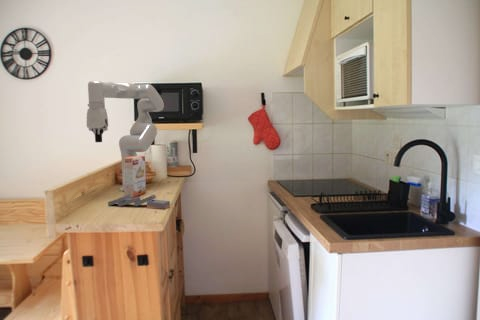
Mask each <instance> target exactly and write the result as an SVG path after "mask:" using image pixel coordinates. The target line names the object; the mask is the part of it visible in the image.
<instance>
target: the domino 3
mask: <svg viewBox="0 0 480 320" xmlns="http://www.w3.org/2000/svg"><path fill="white" fill-rule="evenodd" d="M156 199H157V197H156V194H153V195H152V194H151V195H149V196H148V197H145V198H143V199H140V201H137V202H135V203H133V204H134V206H135V207H138V206H141V205H143V204H145V203H147V202H148V201H151V200H156Z"/></svg>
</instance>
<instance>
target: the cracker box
mask: <svg viewBox="0 0 480 320" xmlns="http://www.w3.org/2000/svg"><path fill="white" fill-rule="evenodd" d="M123 166H124V191H123V193H124V196H127V195H129V196H130V199H132V198H136V197H140V196H141V195H145V194H146V193H147V191H146V190H147V189H146V185H147V184H146V183H147V182H146V156H145V155H137V156H133V157H127V158H123ZM124 196H123V197H124Z"/></svg>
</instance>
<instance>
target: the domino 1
mask: <svg viewBox="0 0 480 320" xmlns="http://www.w3.org/2000/svg"><path fill="white" fill-rule="evenodd" d="M128 199H131V198H130V196H129V195H127V196H122V197H119V198H116V199H113V200H110V201H107V205H108V207H110V206H113V205H115V204H118V203H119V202H122V201H124V200H128Z"/></svg>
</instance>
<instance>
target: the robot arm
mask: <svg viewBox="0 0 480 320" xmlns="http://www.w3.org/2000/svg"><path fill="white" fill-rule="evenodd" d="M87 90H88V91H87V92H88V93H87V94H88V104H87V107H88V108H87V111H86V127H87V128H88V131H89V132H92V133H93V135H94V139H95V143H103V134H104V132H106V131H108V127H109V119H108V112H107V108H106V103H105V99H107V98H108V99H109V98H110V99H111V98H112V99H127V100H129V99H133V100H138V101H137V112H138V117H137V118H136V120H135V122H133V124H132V126H131V128H130V130H129V134H128V135H123V136H122V137H121V138H120V139H119V141H118V146H119V152H120V156H121V173H122V174H121V175H122V177H121V178H122V186H121V187H120V188H119V190H120V191H121V192H124V166H123V158H127V157H133V156H138V154H137V153H144V152H147V151H148V150H149V148H150V147H151V146H152V144H153V142H154V141H155V139H156V137H157V134H158V130H157V129H158V128H157V125H155V124H154V123H153V121H152V117H151V115H150V113H154V112H155V113H159V112H162V111H163V110H164V108H165V103H164V100H163V98H162V96H161V95H160V93H158V90H157V89H156V88H155V87H154V86H153V85H152V84H151V83H141V84H140V83H127V82H120V83H119V82H117V83H114V82H112V81H111V82H110V81H108V82H105V81H104V82H103V81H98V80H93V81H92V80H91V81H88V83H87Z"/></svg>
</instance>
